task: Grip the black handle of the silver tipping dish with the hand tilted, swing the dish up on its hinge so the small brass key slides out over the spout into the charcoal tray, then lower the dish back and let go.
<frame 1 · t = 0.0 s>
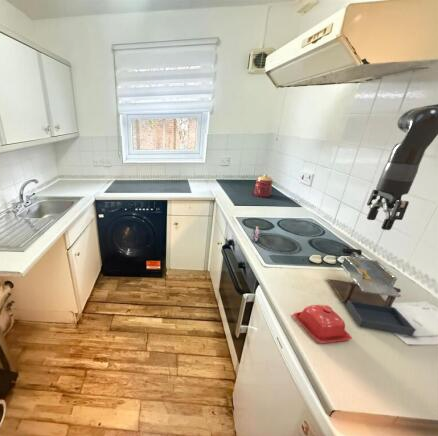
hand: (377, 224, 81), 26 cm above the worktop, tool pointing down, fingers open, 8 cm apart
kitchen canister: (261, 195, 200), on the worktop
tray: (376, 319, 76), on the worktop
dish: (364, 268, 84), point 10 cm above the worktop, hinge at 0.0°, touching key
key: (365, 275, 83), point 9 cm above the worktop, touching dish
butter dish: (319, 328, 73), on the worktop
stand: (357, 295, 87), on the worktop
decorative key: (256, 235, 131), on the worktop
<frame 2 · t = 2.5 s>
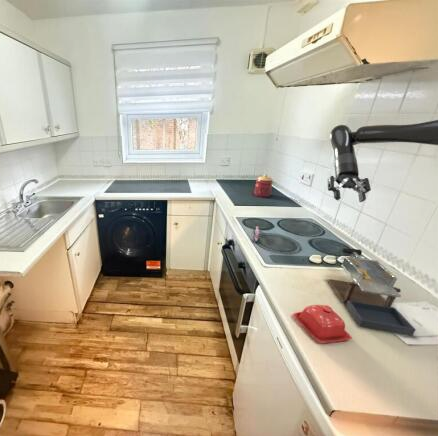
hand: (350, 200, 97), 29 cm above the worktop, tool tilted 45°, fingers open, 8 cm apart
nothing on the worktop moved.
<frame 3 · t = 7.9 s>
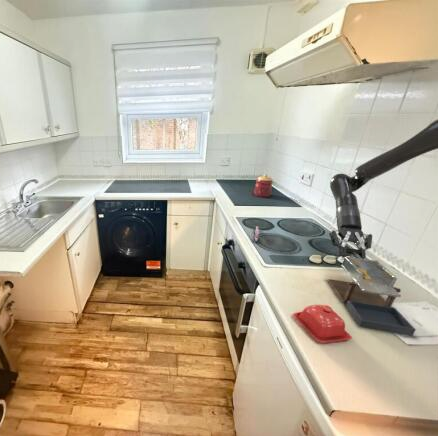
hand: (353, 258, 91), 10 cm above the worktop, tool tilted 45°, fingers closed on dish, 5 cm apart
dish: (364, 268, 84), point 10 cm above the worktop, hinge at -0.1°, touching gripper, key
everything else where it was.
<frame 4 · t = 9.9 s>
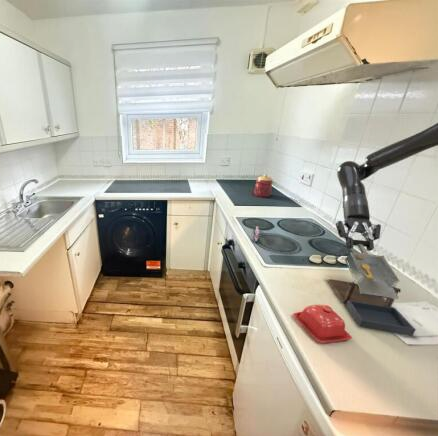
hand: (360, 249, 88), 15 cm above the worktop, tool tilted 45°, fingers closed on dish, 5 cm apart
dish: (368, 265, 82), point 12 cm above the worktop, hinge at 17.1°, touching gripper, key
key: (367, 272, 82), point 10 cm above the worktop, tilted 17°, touching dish
everything else where it was.
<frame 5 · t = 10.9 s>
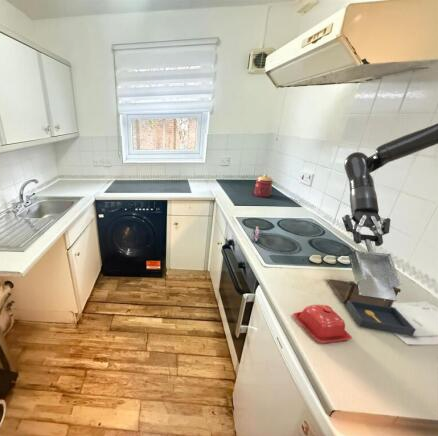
hand: (368, 244, 84), 19 cm above the worktop, tool tilted 45°, fingers closed on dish, 5 cm apart
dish: (372, 264, 81), point 14 cm above the worktop, hinge at 32.2°, touching gripper
key: (374, 319, 76), resting on tray
everything else where it was.
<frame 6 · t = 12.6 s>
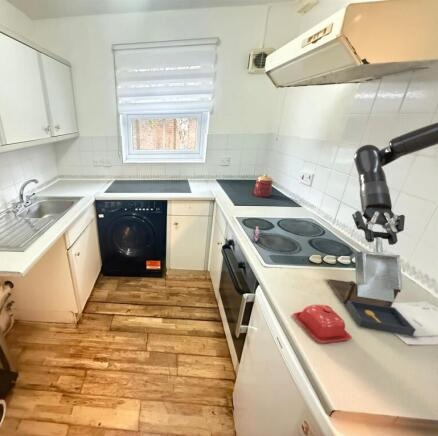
hand: (381, 242, 77), 22 cm above the worktop, tool tilted 45°, fingers closed on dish, 5 cm apart
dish: (377, 265, 78), point 15 cm above the worktop, hinge at 52.6°, touching gripper
everything else where it was.
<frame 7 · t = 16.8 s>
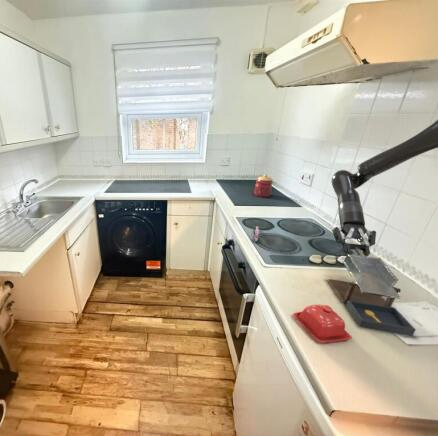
hand: (357, 254, 89), 12 cm above the worktop, tool tilted 45°, fingers closed on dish, 5 cm apart
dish: (366, 267, 83), point 11 cm above the worktop, hinge at 8.7°, touching gripper
everything else where it was.
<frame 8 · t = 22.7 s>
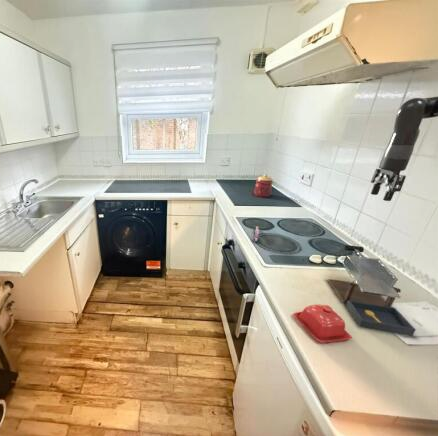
hand: (380, 197, 96), 30 cm above the worktop, tool pointing down, fingers open, 8 cm apart
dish: (365, 267, 84), point 11 cm above the worktop, hinge at 5.2°
everything else where it was.
at the end: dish reached +53° during the clip, +5° at the end; key inside the target area in the tray (0.8 cm from its centre), point 0.5 cm above the tray's base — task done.
